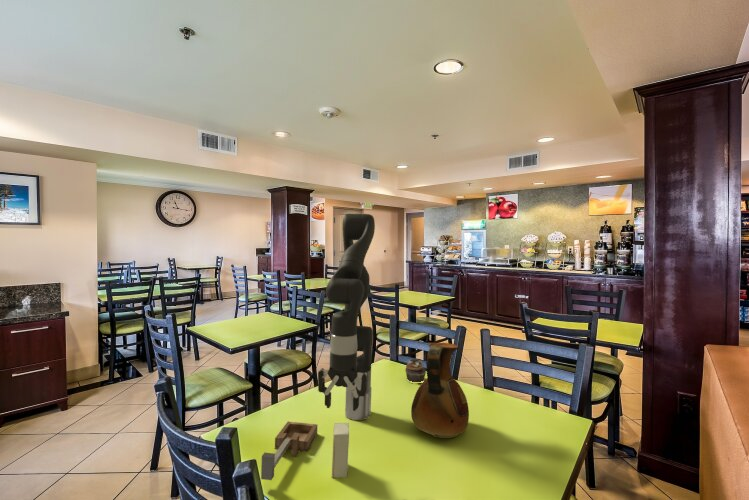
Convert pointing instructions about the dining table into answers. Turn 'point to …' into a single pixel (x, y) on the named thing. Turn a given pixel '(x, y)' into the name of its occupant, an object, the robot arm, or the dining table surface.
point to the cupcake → (415, 370)
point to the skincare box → (340, 449)
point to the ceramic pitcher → (440, 396)
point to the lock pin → (272, 460)
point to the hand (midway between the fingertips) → (341, 408)
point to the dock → (297, 436)
